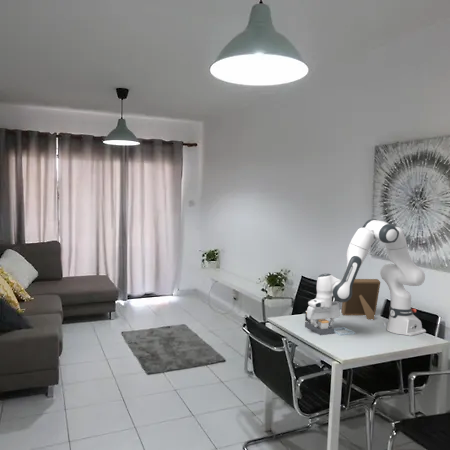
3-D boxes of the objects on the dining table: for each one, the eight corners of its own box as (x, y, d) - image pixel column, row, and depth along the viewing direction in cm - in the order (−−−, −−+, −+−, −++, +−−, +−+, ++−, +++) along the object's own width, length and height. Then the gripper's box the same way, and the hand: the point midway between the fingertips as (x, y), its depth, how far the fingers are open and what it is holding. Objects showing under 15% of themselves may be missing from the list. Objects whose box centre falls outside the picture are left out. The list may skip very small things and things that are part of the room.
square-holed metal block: (304, 328, 249) (305, 321, 248) (317, 327, 252) (318, 320, 252) (320, 337, 234) (320, 329, 233) (333, 335, 237) (333, 328, 237)
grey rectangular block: (316, 326, 249) (316, 315, 249) (320, 328, 245) (320, 317, 245) (310, 327, 248) (310, 315, 247) (314, 329, 244) (314, 317, 243)
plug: (324, 330, 242) (324, 318, 241) (328, 333, 238) (328, 320, 237) (318, 331, 240) (318, 319, 240) (322, 333, 236) (322, 321, 236)
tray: (344, 330, 247) (344, 327, 246) (355, 335, 237) (355, 332, 237) (329, 332, 243) (329, 328, 243) (340, 337, 234) (340, 333, 234)
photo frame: (341, 313, 283) (342, 277, 281) (372, 313, 285) (374, 277, 283) (348, 320, 268) (350, 281, 266) (381, 320, 270) (383, 282, 268)
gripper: (336, 299, 245) (335, 322, 245) (305, 302, 237) (304, 326, 238) (342, 302, 239) (341, 326, 239) (311, 304, 231) (311, 329, 232)
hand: (323, 326), depth 239 cm, fingers open, 8 cm apart
